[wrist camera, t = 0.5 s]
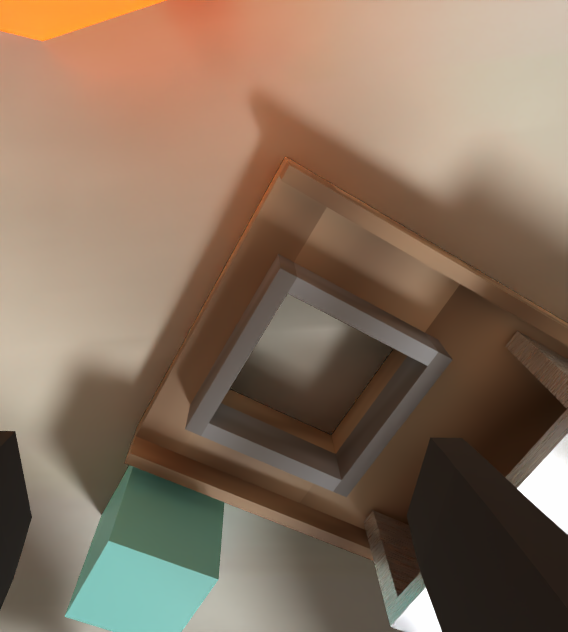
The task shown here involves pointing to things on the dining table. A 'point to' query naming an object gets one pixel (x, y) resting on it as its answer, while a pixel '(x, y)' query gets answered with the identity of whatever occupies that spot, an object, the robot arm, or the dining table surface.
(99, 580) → the block
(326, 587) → the dining table surface
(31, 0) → the orange juice
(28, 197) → the dining table surface
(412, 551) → the housing cover
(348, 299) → the housing base
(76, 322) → the dining table surface
